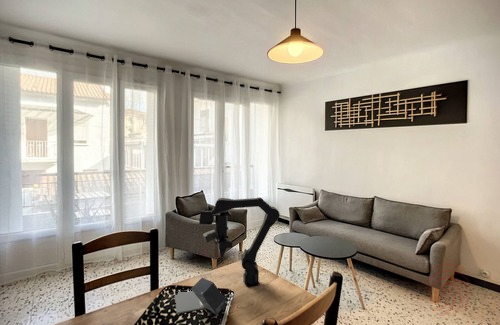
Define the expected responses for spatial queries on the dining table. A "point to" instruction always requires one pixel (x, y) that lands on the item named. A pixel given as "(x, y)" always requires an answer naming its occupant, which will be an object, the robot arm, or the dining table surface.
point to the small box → (209, 295)
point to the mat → (187, 302)
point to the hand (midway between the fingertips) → (221, 257)
